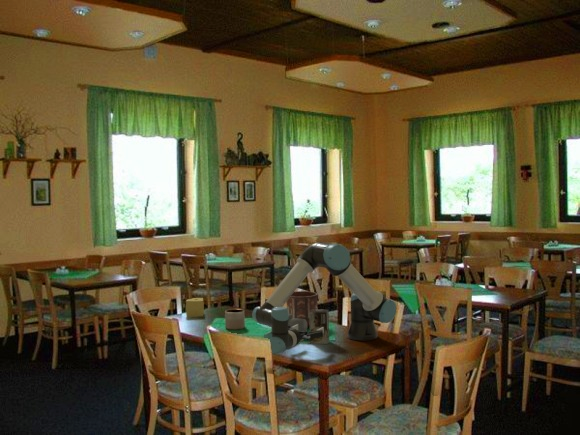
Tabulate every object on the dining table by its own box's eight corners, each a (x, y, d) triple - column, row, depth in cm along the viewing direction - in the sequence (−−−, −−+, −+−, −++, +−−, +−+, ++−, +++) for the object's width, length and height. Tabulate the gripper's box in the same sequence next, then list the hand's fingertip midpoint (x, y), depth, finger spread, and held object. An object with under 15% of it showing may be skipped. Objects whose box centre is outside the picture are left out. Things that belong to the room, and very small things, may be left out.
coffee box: (329, 341, 309) (329, 309, 308) (327, 344, 303) (327, 312, 302) (311, 340, 311) (311, 308, 310) (309, 343, 305) (308, 311, 304)
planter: (241, 330, 335) (241, 313, 334) (222, 329, 337) (222, 312, 336) (247, 325, 345) (246, 308, 345) (228, 325, 348) (228, 308, 347)
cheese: (186, 314, 380) (186, 298, 379) (204, 313, 381) (204, 297, 381) (186, 317, 370) (185, 301, 369) (204, 316, 371) (203, 300, 370)
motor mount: (310, 335, 320) (310, 314, 319) (289, 347, 299) (289, 323, 298) (278, 332, 329) (278, 311, 328) (256, 343, 307) (255, 320, 307)
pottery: (307, 320, 356) (306, 289, 354) (324, 326, 340) (323, 294, 339) (280, 324, 347) (279, 293, 346) (296, 331, 332) (295, 298, 330)
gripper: (266, 343, 284) (287, 333, 303) (315, 349, 273) (334, 338, 292) (266, 327, 284) (287, 318, 303) (315, 333, 272) (333, 323, 291)
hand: (310, 328), depth 297 cm, fingers open, 13 cm apart
